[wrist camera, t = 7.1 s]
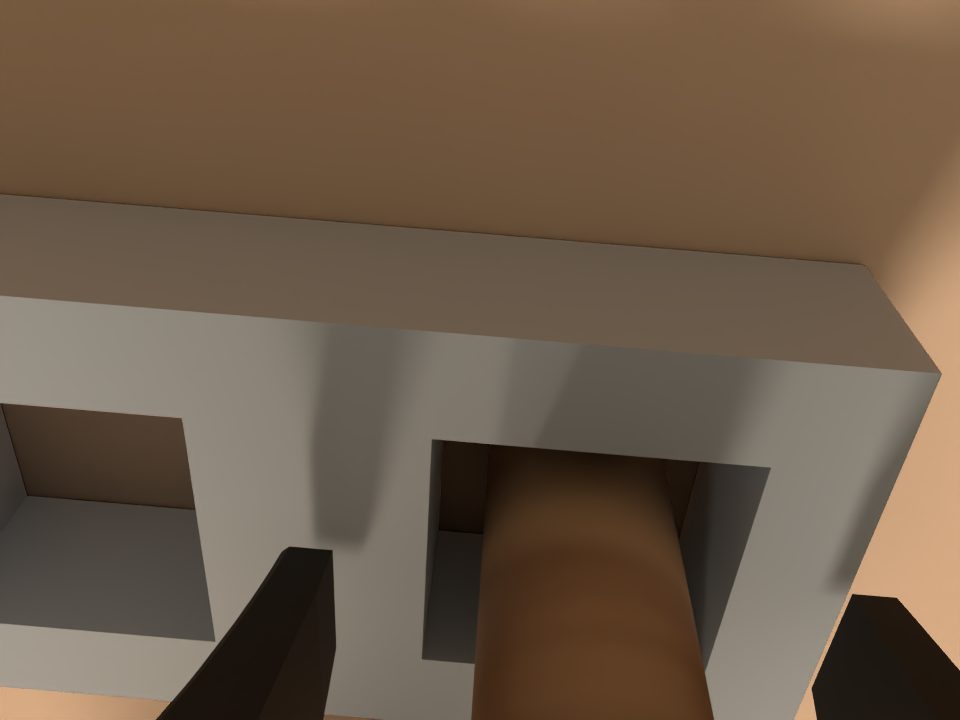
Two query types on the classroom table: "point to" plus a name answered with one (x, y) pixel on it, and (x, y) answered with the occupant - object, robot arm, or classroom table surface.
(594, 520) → the peg
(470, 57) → the classroom table surface
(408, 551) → the hole block
